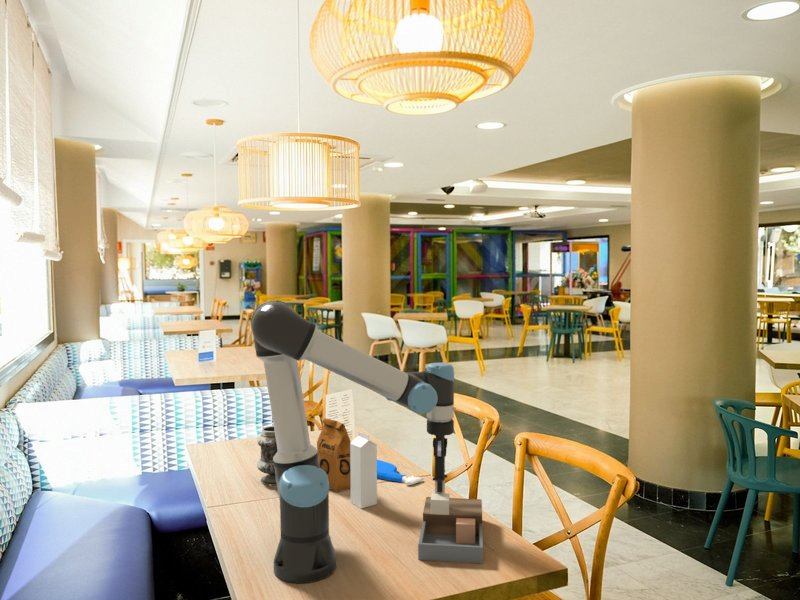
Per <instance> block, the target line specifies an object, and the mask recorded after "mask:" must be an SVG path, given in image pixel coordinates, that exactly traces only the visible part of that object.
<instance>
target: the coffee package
mask: <svg viewBox="0 0 800 600" xmlns="http://www.w3.org/2000/svg"><path fill="white" fill-rule="evenodd" d="M322 424H323V427H322V429H321V430H320V434H319V436H318V438H317V441H316V449H317V452H318V459H319V465H320V468H321V469H323V470H324V471H325V472H326V474H327V476H328V481H329V489H331V490H334V491H335V492H341V491H346V490H351V477H350V443H351V442H352V441H351V438H350V437H349V434H348V431H347V429H346V425H345V424H344V423H342V422H340V421H338V420H334V419H330V418H327V417H325V418H323V420H322Z"/></svg>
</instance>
